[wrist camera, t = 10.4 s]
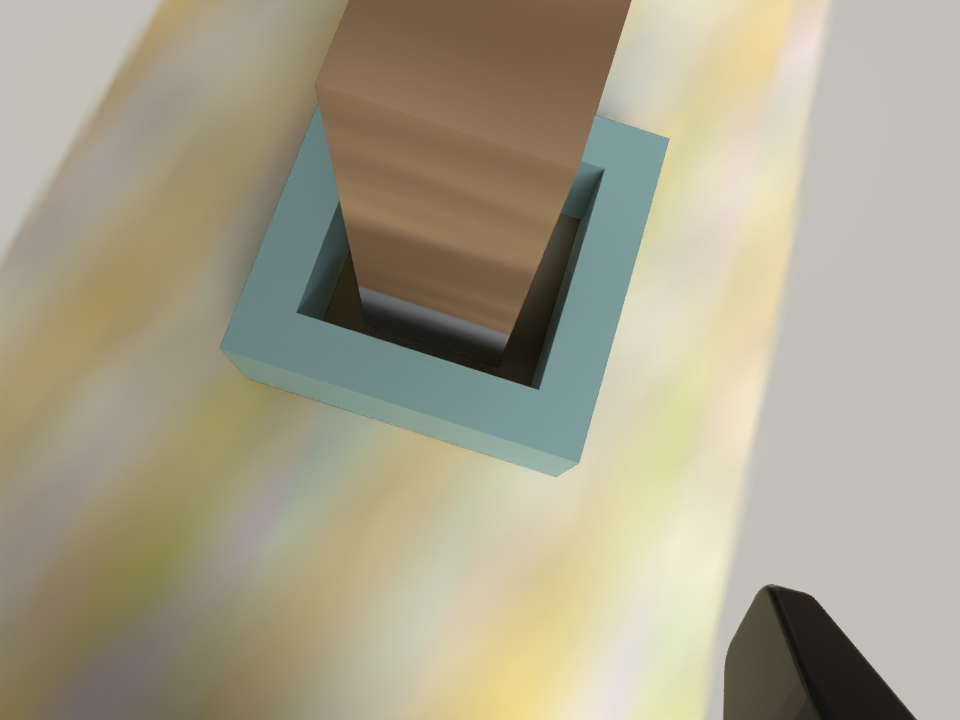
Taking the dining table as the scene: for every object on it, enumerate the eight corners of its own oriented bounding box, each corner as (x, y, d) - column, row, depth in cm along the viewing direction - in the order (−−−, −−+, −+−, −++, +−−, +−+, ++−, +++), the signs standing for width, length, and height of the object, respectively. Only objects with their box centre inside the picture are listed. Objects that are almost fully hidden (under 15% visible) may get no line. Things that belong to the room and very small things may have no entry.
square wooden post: (497, 366, 21) (578, 169, 11) (365, 323, 21) (315, 84, 11) (536, 243, 22) (647, -53, 11) (410, 202, 22) (404, -132, 11)
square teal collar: (556, 477, 21) (579, 463, 18) (246, 378, 21) (219, 348, 18) (637, 192, 23) (669, 138, 20) (354, 102, 23) (345, 35, 20)
